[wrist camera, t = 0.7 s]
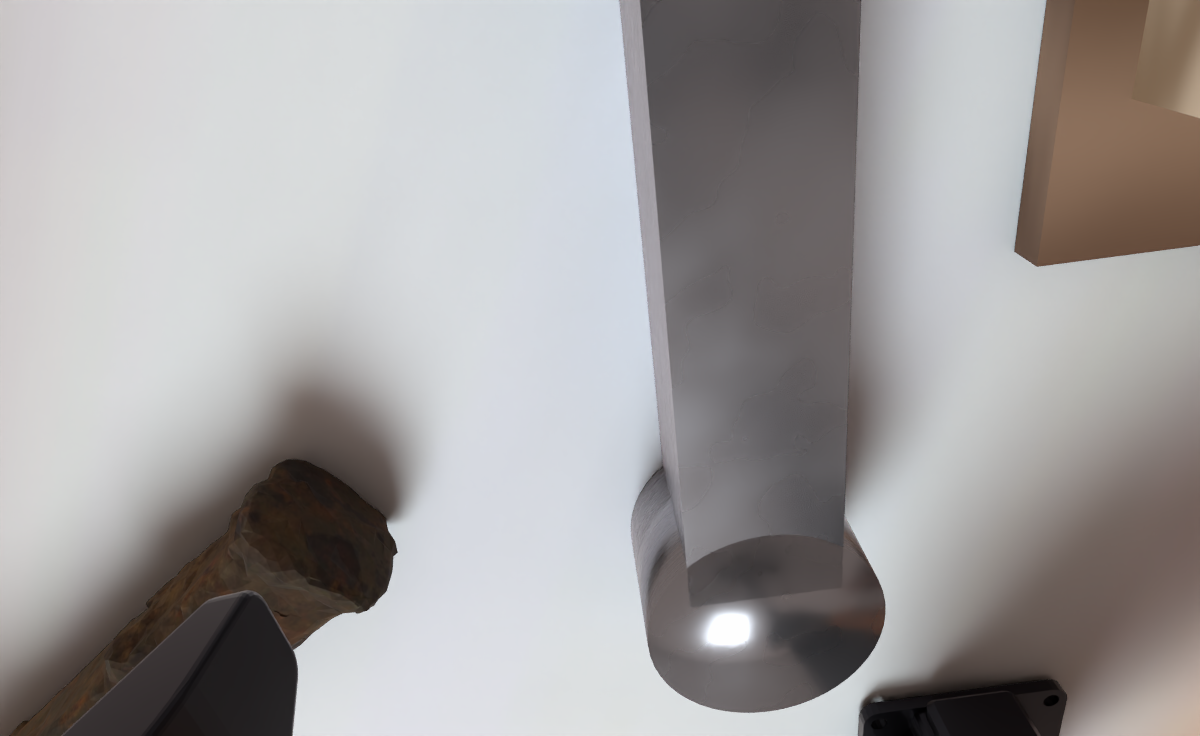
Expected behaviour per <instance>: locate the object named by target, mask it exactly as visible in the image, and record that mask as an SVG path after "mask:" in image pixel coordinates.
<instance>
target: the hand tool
mask: <svg viewBox="0 0 1200 736" xmlns="http://www.w3.org/2000/svg"><path fill="white" fill-rule="evenodd" d="M396 553H398V552H397V548H396V543H395V541H394V539H393V537H392V536H391V534H390V533H389V531H388V527H387V523H386V519H385V517H384V516H383V515H382V514H381V513H380V512H379V511H378V510H377V509H375V508H373V507H372V506H370V505H369V504H368V503H366V502H365V501H364V500H363V499H362V498H360V496H359V495H358V494H357V493H356V492H355V491H354V490H352V489H351V488H350V487H349V486H348V485H346V484H345V483H343V482H342V481H341V480H339V479H338V478H336V477H334V476H333V475H331V474H330V473H328V472H327V471H325V470H323V469H321V468H318V467H316V466H314V465H312V464H310V463H308V462H306V461H302V460H296V459H293V460H285V461H283V462H281V463H279V464H277V465H276V466H274V467H273V468H272V470H271V473H270V475H269V478H268V480H265V481H263V482H260V483H258V484H255V485H254V486H253V487H252V488H251V490H250V491H249V492H248V493H247V495H246V496H245V498H244V501H243V504H242V507H241V508H240V509H238V510H236V511H235V512H234V513H233V514H232V516H231V521H230V525H229V529H228V532H227V533H226V534H224V535H223V536H222V537H220V538H219V539H218V540H216V541H215V542H214V543H212V544H211V545H210V546H209V547H208V548H207V549H206V550H205V551H203V552H202V553H201V554H200V555H199V557H197V558H196V559H194V560H193V561H191V562H189V563H188V564H186V565H185V566H184V567H183V568H182V570H181V571H180V572H179V573H178V575H177V576H176V577H175V578H173V579H172V580H170V581H169V582H167V583H166V584H165V585H164V586H163V587H162V588H161V589H160V590H159V591H158V592H157V593H156V594H155V595H154V596H153V597H152V598H151V599H150V600H149V601H148V602H147V603H146V604H147V606H148V609H147V610H145V611H144V612H143V613H142V614H141V615H139V616H138V617H137V618H136V619H132V620H131V621H130V622H129V624H128V625H127V626H126V627H125V628H124V629H123V630H121V631H120V633H119V634H118V635H117V636H116V637H115V639H114V640H113V641H112V642H111V643H110V644H108V645H107V646H106V647H105V648H104V649H103V650H102V651H101V652H100V653H99V654H98V655H97V656H96V657H95V658H94V659H93V660H92V661H91V662H90V663H89V664H88V665H87V666H86V667H85V668H84V669H83V670H82V671H81V672H80V673H79V674H78V675H77V676H76V677H75V678H74V679H73V680H72V681H71V682H70V683H69V684H68V685H67V686H65V687H64V688H63V689H62V690H61V691H60V692H59V693H58V694H57V695H56V696H55V697H54V698H53V699H52V700H51V701H50V702H49V703H48V704H47V705H46V706H45V707H44V708H43V709H42V710H41V711H40V712H38V713H37V714H36V715H35V716H34V717H33V718H32V719H31V720H30V721H23V722H22V723H21V724H20V725H19V726H18V727H17V728H16V729H15V730H14V731H13V732H12V734H11V735H10V736H61V735H63V734H64V733H65V732H66V731H67V730H68V729H69V728H70V727H71V726H72V725H73V724H74V723H75V722H76V721H78V720H79V719H80V718H81V717H82V716H83V715H84V714H85V713H86V712H87V711H88V710H89V709H90V708H92V707H93V706H94V705H95V704H96V703H97V702H98V701H99V700H100V699H101V698H102V697H103V696H104V695H105V694H107V693H108V692H109V691H110V690H111V689H112V688H113V687H114V686H115V685H116V684H117V683H118V682H119V681H121V680H122V679H123V678H124V677H125V676H126V675H127V674H128V673H129V672H130V671H131V670H132V669H133V668H135V667H136V666H137V665H138V664H139V663H140V662H141V661H142V660H143V659H144V658H145V657H146V656H147V655H148V654H150V653H151V652H152V651H153V650H154V649H155V648H156V647H157V646H158V645H159V644H160V643H161V642H162V641H164V640H165V639H166V638H167V637H168V636H169V635H170V634H171V633H172V632H173V631H174V630H175V629H176V628H177V627H179V626H180V625H181V624H182V623H183V622H184V621H185V620H186V619H187V618H188V617H189V616H190V615H191V614H193V613H194V612H195V611H196V610H197V609H198V608H199V607H200V606H201V605H202V604H203V603H205V602H206V601H208V600H210V599H212V598H215V597H219V596H224V595H228V594H233V593H237V592H241V591H246V590H250V591H255V592H257V593H258V594H259V595H261V596H262V597H263V599H264V600H265V602H266V603H267V605H268V607H269V608H270V610H271V612H272V614H273V615H274V617H275V619H276V621H277V622H278V624H279V626H280V628H281V629H282V631H283V633H284V635H285V636H286V638H287V640H288V641H289V643H290V645H291V647H292V649H293V650H294V649H295V648H297V647H298V646H300V645H301V644H302V643H303V642H304V641H305V640H306V639H307V638H308V637H309V636H310V635H311V634H312V633H313V632H315V631H316V630H318V629H319V628H320V627H322V626H323V625H324V624H325V623H327V622H328V621H329V620H331V619H332V618H334V617H336V616H338V615H340V614H342V613H351V612H356V613H361V612H363V611H367V610H369V608H370V607H372V606H374V605H375V603H376V602H377V600H378V599H379V598H380V597H381V596H382V595H383V594H384V593H385V592H386V591H387V588H388V585H389V581H390V578H391V574H392V569H393V556H394V555H395V554H396Z"/></svg>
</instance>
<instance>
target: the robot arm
mask: <svg viewBox="0 0 1200 736" xmlns="http://www.w3.org/2000/svg"><path fill="white" fill-rule="evenodd" d="M297 683H298V666H297V660H296V657H295V654H294V651H293V649H292V647H291V645H290V643H289V641H288V640H287V638H286V636H285V635H284V633H283V631H282V629H281V628H280V626H279V624H278V622H277V621H276V619H275V617H274V615H273V614H272V612H271V610H270V608H269V607H268V605H267V603H266V602H265V600H264V599H263V597H262V596H261V595H259V594H258V593H257V592H255V591H250V590H246V591H241V592H237V593H233V594H228V595H224V596H219V597H215V598H212V599H210V600H208V601H206V602H205V603H203V604H202V605H201V606H200V607H199V608H198V609H197V610H196V611H195V612H194V613H193V614H191V615H190V616H189V617H188V618H187V619H186V620H185V621H184V622H183V623H182V624H181V625H180V626H179V627H177V628H176V629H175V630H174V631H173V632H172V633H171V634H170V635H169V636H168V637H167V638H166V639H165V640H164V641H162V642H161V643H160V644H159V645H158V646H157V647H156V648H155V649H154V650H153V651H152V652H151V653H150V654H148V655H147V656H146V657H145V658H144V659H143V660H142V661H141V662H140V663H139V664H138V665H137V666H136V667H135V668H133V669H132V670H131V671H130V672H129V673H128V674H127V675H126V676H125V677H124V678H123V679H122V680H121V681H119V682H118V683H117V684H116V685H115V686H114V687H113V688H112V689H111V690H110V691H109V692H108V693H107V694H105V695H104V696H103V697H102V698H101V699H100V700H99V701H98V702H97V703H96V704H95V705H94V706H93V707H92V708H90V709H89V710H88V711H87V712H86V713H85V714H84V715H83V716H82V717H81V718H80V719H79V720H78V721H76V722H75V723H74V724H73V725H72V726H71V727H70V728H69V729H68V730H67V731H66V732H65V733H64V734H63V735H61V736H292V735H293V725H294V714H295V704H296V693H297ZM1066 701H1067V694H1066V693H1065V692H1064V690H1063V689H1062V687H1061V686H1060V684H1059V683H1058V682H1057V681H1055V680H1040V681H1033V682H1025V683H1018V684H1011V685H1003V686H996V687H988V688H981V689H973V690H966V691H958V692H951V693H944V694H936V695H929V696H921V697H914V698H906V699H899V700H891V701H884V702H877V703H872V704H869V705H867V706H866V707H864V708H863V709H862V710H861V712H860V715H859V730H858V736H1059V733H1060V728H1061V723H1062V719H1063V714H1064V710H1065V705H1066Z"/></svg>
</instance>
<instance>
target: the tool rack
mask: <svg viewBox="0 0 1200 736" xmlns="http://www.w3.org/2000/svg"><path fill="white" fill-rule="evenodd" d="M1198 245H1200V0H1047V3H1046V10H1045V18H1044V26H1043V34H1042V41H1041V49H1040V57H1039V65H1038V72H1037V80H1036V88H1035V96H1034V103H1033V111H1032V119H1031V127H1030V134H1029V142H1028V150H1027V158H1026V165H1025V173H1024V181H1023V189H1022V196H1021V204H1020V212H1019V220H1018V227H1017V235H1016V243H1015V251H1014V252H1016V253H1017V254H1019V255H1020V256H1022V257H1023V258H1025V259H1026V260H1028V261H1029V262H1031V263H1032V264H1034V265H1035V266H1037V267H1038V266H1046V265H1053V264H1061V263H1068V262H1076V261H1084V260H1091V259H1099V258H1107V257H1114V256H1122V255H1129V254H1137V253H1145V252H1152V251H1160V250H1168V249H1175V248H1183V247H1190V246H1198Z"/></svg>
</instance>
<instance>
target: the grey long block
mask: <svg viewBox="0 0 1200 736" xmlns="http://www.w3.org/2000/svg"><path fill="white" fill-rule="evenodd" d="M619 1H620V12H621V23H622V33H623V44H624V55H625V65H626V76H627V87H628V97H629V108H630V119H631V130H632V140H633V151H634V162H635V172H636V183H637V194H638V205H639V215H640V226H641V237H642V247H643V258H644V269H645V280H646V290H647V301H648V312H649V322H650V333H651V344H652V355H653V365H654V376H655V387H656V397H657V408H658V419H659V430H660V440H661V451H662V462H663V466H662V467H661V468H660V469H659V470H658V471H657V472H656V473H655V474H654V475H653V476H652V477H651V479H650V480H649V481H648V482H647V483H646V485H645V487H644V488H643V490H642V491H641V493H640V495H639V497H638V499H637V501H636V504H635V507H634V510H633V514H632V520H631V538H632V544H633V551H634V557H635V564H636V570H637V577H638V583H639V590H640V596H641V603H642V609H643V615H644V622H645V628H646V635H647V641H648V647H649V652H650V656H651V659H652V661H653V664H654V666H655V668H656V670H657V671H658V673H659V674H660V676H661V677H662V678H663V679H664V681H665V682H666V683H667V684H668V685H669V686H670V687H671V688H673V689H674V690H675V691H676V692H678V693H679V694H681V695H682V696H684V697H686V698H687V699H689V700H691V701H694V702H696V703H698V704H700V705H703V706H707V707H710V708H713V709H718V710H723V711H730V712H743V713H755V712H766V711H773V710H779V709H784V708H788V707H791V706H795V705H798V704H801V703H804V702H807V701H809V700H812V699H814V698H816V697H818V696H820V695H822V694H824V693H826V692H828V691H830V690H831V689H833V688H835V687H836V686H838V685H839V684H840V683H842V682H843V681H845V680H846V679H847V678H849V677H850V676H851V675H852V674H853V673H854V672H855V671H856V670H857V669H858V668H859V667H860V666H861V665H862V664H863V663H864V662H865V660H866V659H867V658H868V657H869V655H870V654H871V652H872V651H873V649H874V648H875V646H876V644H877V642H878V640H879V638H880V635H881V632H882V629H883V626H884V620H885V599H884V594H883V590H882V588H881V585H880V583H879V580H878V579H877V577H876V575H875V573H874V571H873V569H872V567H871V565H870V563H869V561H868V559H867V558H866V556H865V554H864V552H863V550H862V548H861V546H860V544H859V542H858V540H857V538H856V537H855V535H854V533H853V531H852V529H851V527H850V525H849V523H848V521H847V519H846V517H845V516H844V510H845V479H846V449H847V418H848V387H849V356H850V325H851V294H852V263H853V232H854V202H855V171H856V140H857V109H858V78H859V47H860V16H861V0H619Z"/></svg>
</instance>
